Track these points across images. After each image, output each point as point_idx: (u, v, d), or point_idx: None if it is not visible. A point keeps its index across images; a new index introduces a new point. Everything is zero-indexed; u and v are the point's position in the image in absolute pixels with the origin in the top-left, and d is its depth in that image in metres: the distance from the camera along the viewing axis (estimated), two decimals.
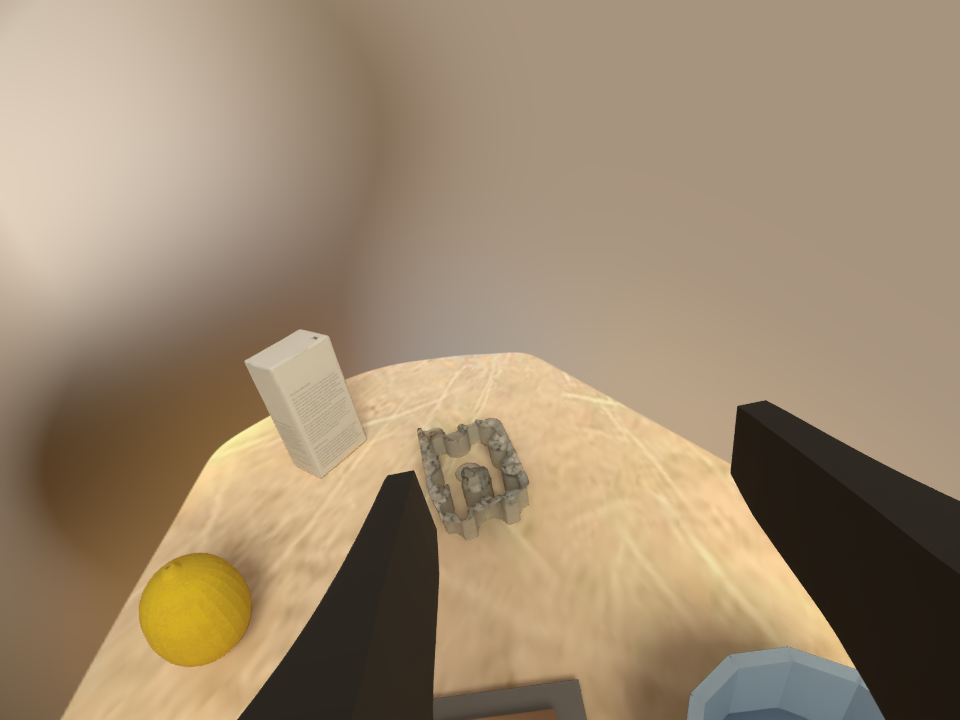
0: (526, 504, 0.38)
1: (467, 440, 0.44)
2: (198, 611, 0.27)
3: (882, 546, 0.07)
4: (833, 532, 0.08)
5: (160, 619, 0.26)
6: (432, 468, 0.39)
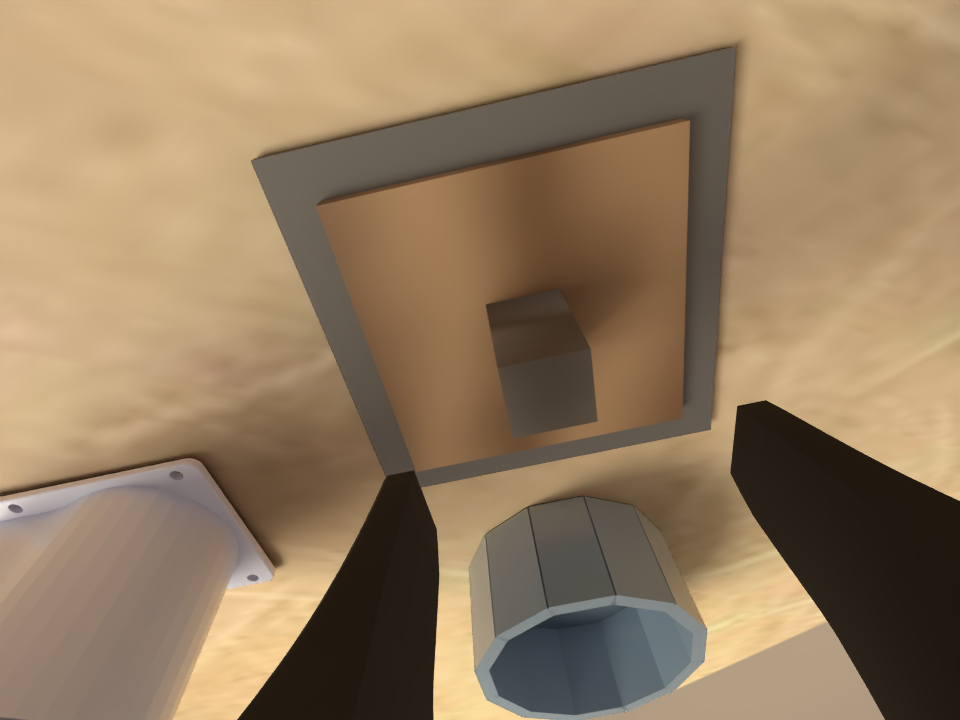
0: None
1: None
2: None
3: (882, 546, 0.07)
4: (833, 532, 0.08)
5: None
6: None
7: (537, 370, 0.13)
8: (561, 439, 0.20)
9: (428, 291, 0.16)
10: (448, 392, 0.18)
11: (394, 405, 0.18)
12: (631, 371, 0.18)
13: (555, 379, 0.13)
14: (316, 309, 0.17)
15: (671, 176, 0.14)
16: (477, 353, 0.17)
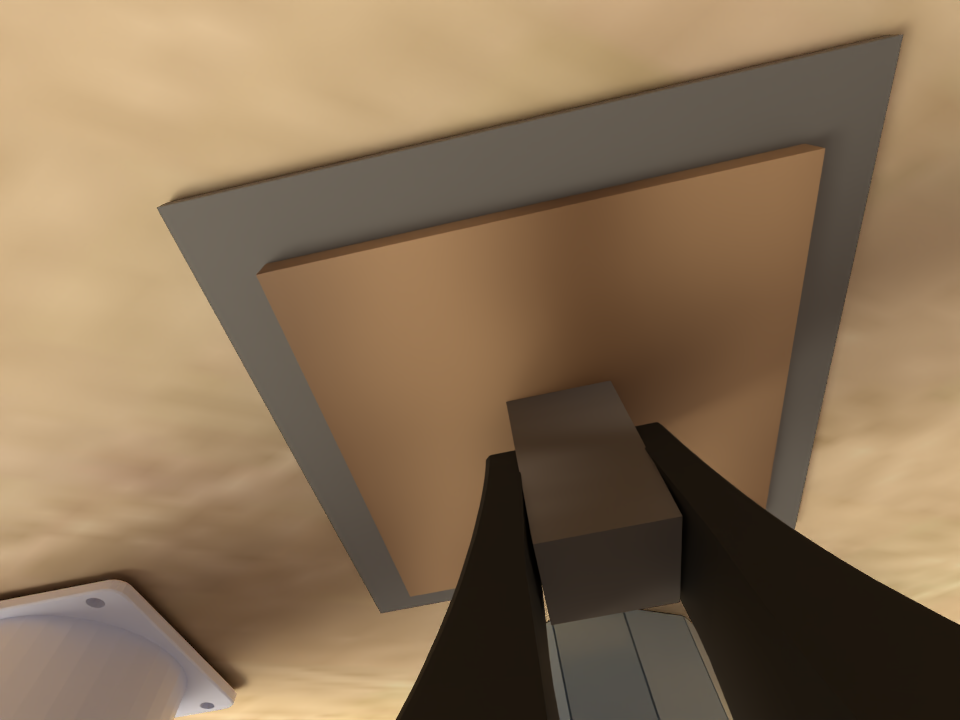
0: None
1: None
2: None
3: (724, 575, 0.07)
4: (695, 558, 0.08)
5: None
6: None
7: (595, 544, 0.08)
8: None
9: (425, 386, 0.11)
10: (453, 507, 0.13)
11: (380, 523, 0.13)
12: None
13: (623, 555, 0.08)
14: (268, 405, 0.12)
15: (787, 228, 0.10)
16: None
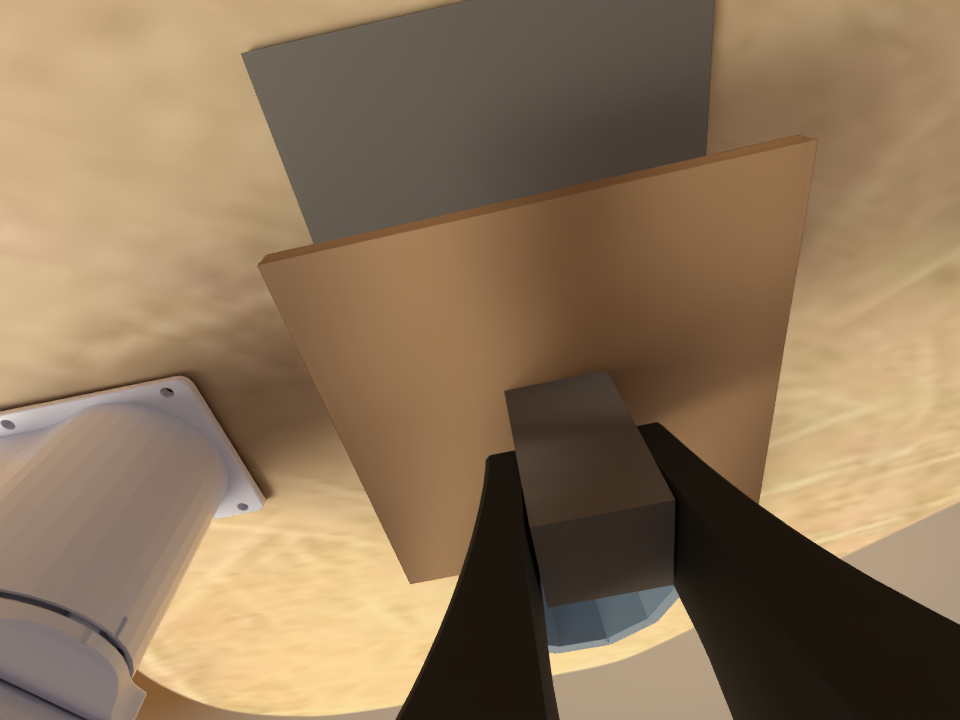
0: None
1: None
2: None
3: (724, 574, 0.07)
4: (695, 557, 0.08)
5: None
6: None
7: (591, 528, 0.08)
8: None
9: (424, 375, 0.11)
10: (452, 495, 0.13)
11: (380, 512, 0.14)
12: None
13: (618, 539, 0.09)
14: (305, 216, 0.17)
15: (780, 219, 0.10)
16: (491, 450, 0.13)
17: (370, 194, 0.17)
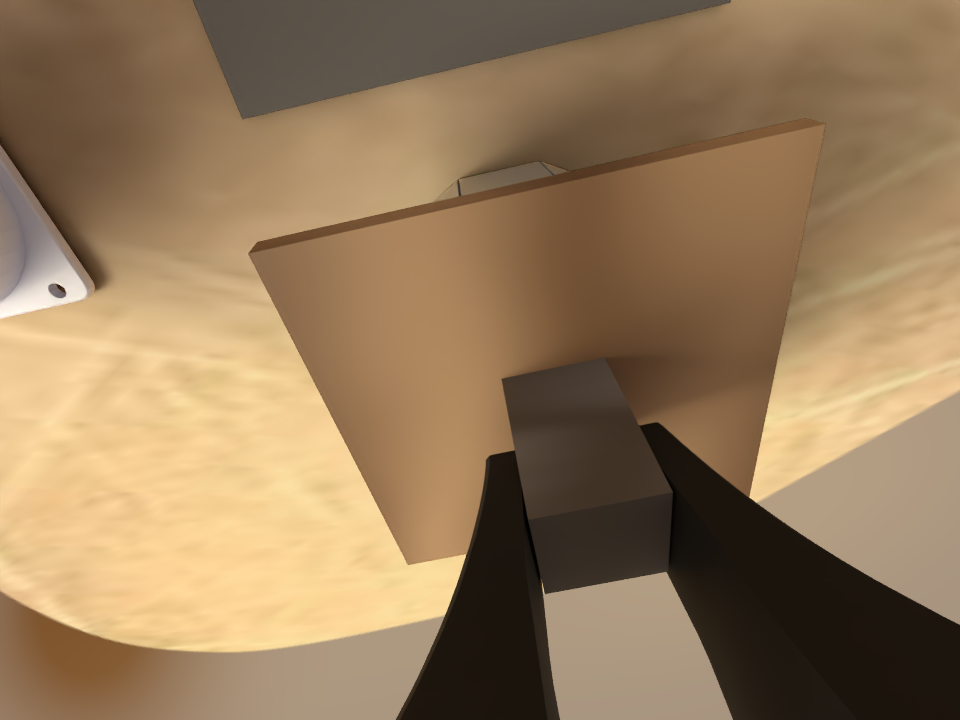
0: None
1: None
2: None
3: (723, 575, 0.07)
4: (695, 558, 0.08)
5: None
6: None
7: (589, 520, 0.08)
8: None
9: (421, 364, 0.11)
10: (449, 480, 0.14)
11: (377, 496, 0.14)
12: None
13: (615, 530, 0.09)
14: None
15: (784, 206, 0.10)
16: (488, 436, 0.13)
17: None
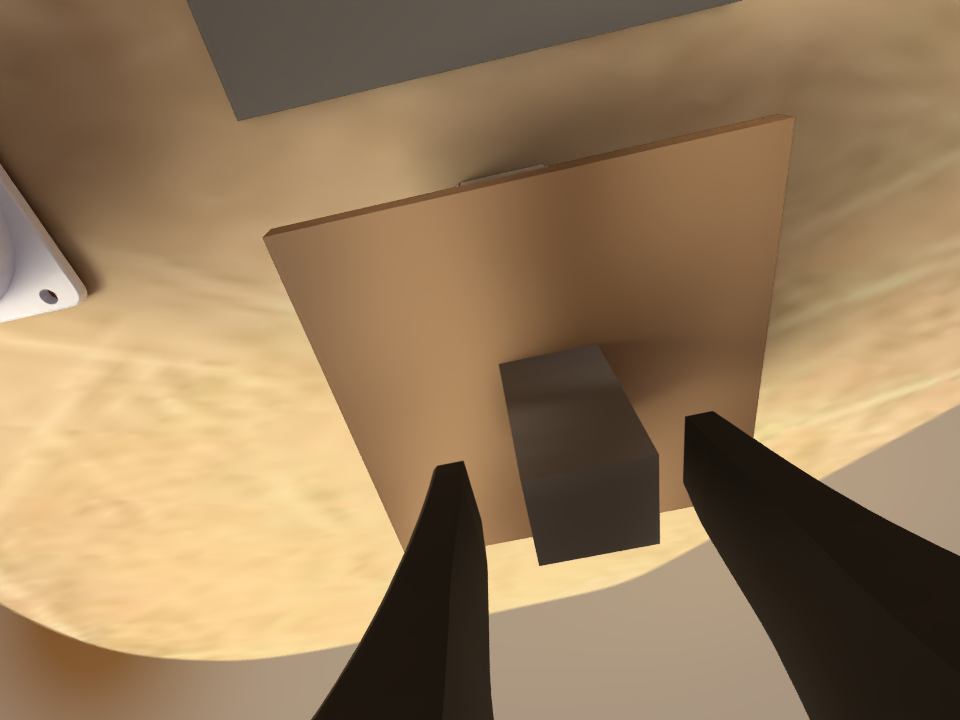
0: None
1: None
2: None
3: (805, 560, 0.07)
4: (766, 544, 0.08)
5: None
6: None
7: (579, 483, 0.09)
8: None
9: (421, 348, 0.12)
10: None
11: (379, 486, 0.14)
12: None
13: (605, 494, 0.09)
14: None
15: (761, 195, 0.10)
16: (487, 424, 0.13)
17: None
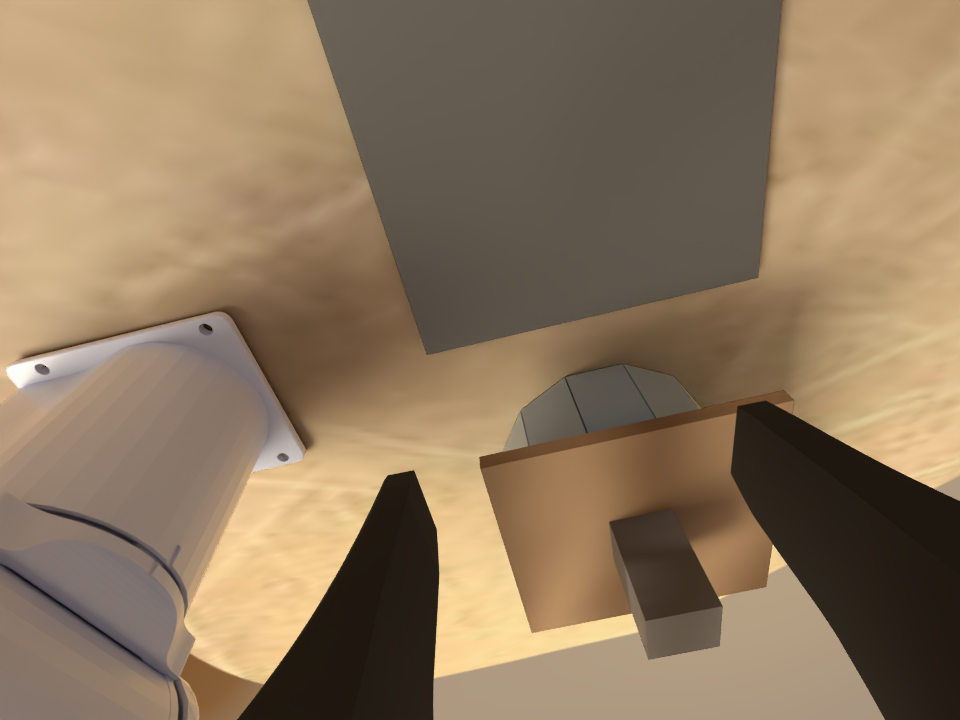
0: None
1: None
2: None
3: (882, 546, 0.07)
4: (832, 531, 0.08)
5: None
6: None
7: (677, 620, 0.16)
8: None
9: (562, 516, 0.19)
10: (568, 579, 0.21)
11: (521, 590, 0.21)
12: (726, 558, 0.21)
13: (691, 624, 0.16)
14: (351, 122, 0.16)
15: None
16: (597, 553, 0.20)
17: (419, 95, 0.16)
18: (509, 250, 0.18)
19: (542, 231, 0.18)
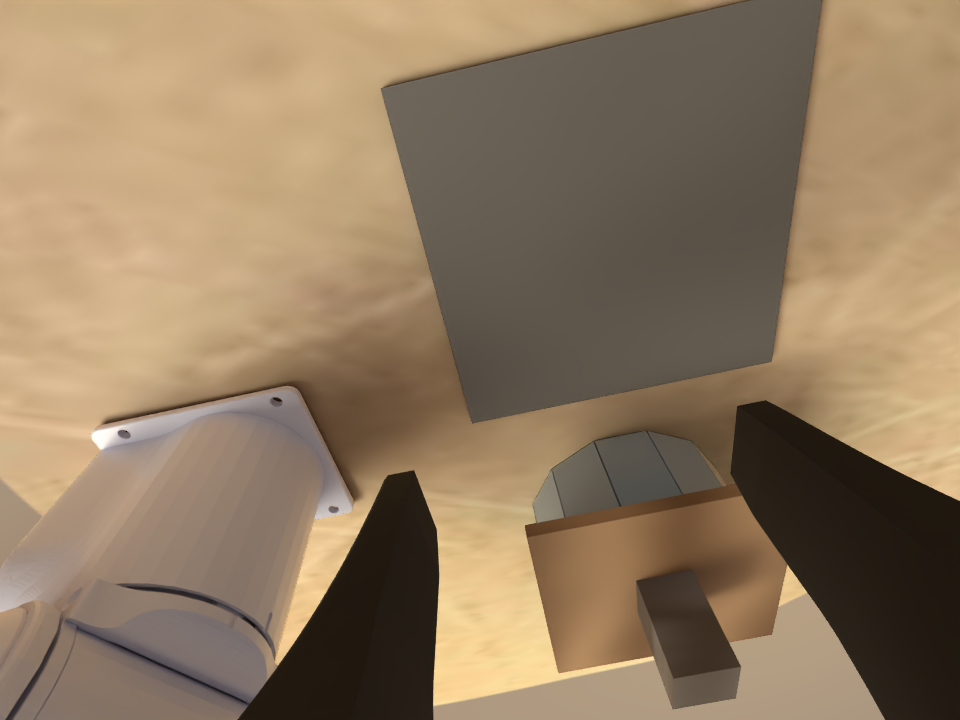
0: None
1: None
2: None
3: (882, 546, 0.07)
4: (832, 532, 0.08)
5: None
6: None
7: (701, 678, 0.18)
8: None
9: (595, 576, 0.21)
10: (595, 628, 0.23)
11: (552, 637, 0.23)
12: (737, 610, 0.23)
13: (712, 681, 0.18)
14: (422, 235, 0.18)
15: None
16: (623, 606, 0.22)
17: (484, 214, 0.18)
18: (553, 338, 0.21)
19: (583, 323, 0.20)
